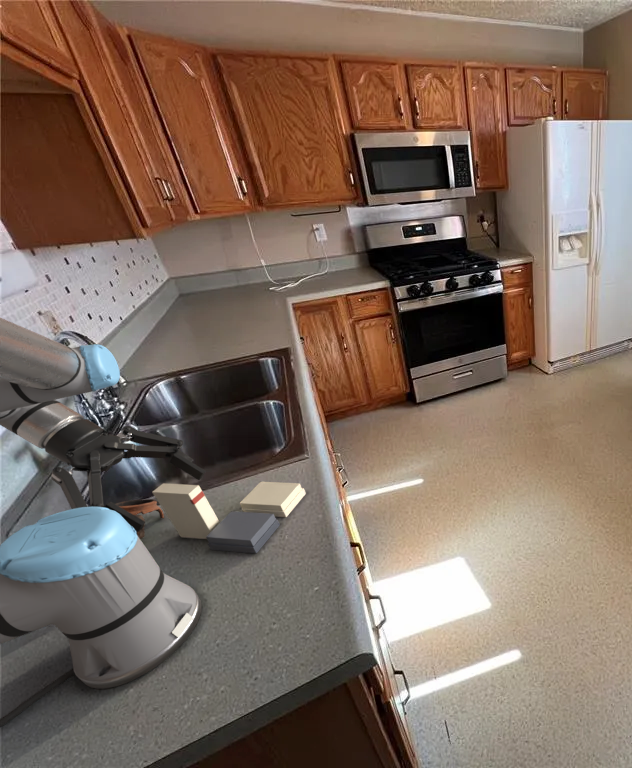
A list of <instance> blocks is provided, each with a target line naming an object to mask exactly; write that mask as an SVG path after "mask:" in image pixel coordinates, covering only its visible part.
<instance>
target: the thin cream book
mask: <svg viewBox="0 0 632 768" xmlns="http://www.w3.org/2000/svg"><path fill="white" fill-rule="evenodd" d="M152 495H153V496H154V497H155V500H156V501H157V503H158V504H159V505H160V508H161V509H162V511H163V512H164V514H165V515H166V516H167V518H168V519H169V521H170V522H171V524H172V525H173V527H174V529H175V530H176V532H177V533H178V535H179V536H180V538H185V539H186V538H187V539H201V540H207V538H206V536H207V535H208V534H209V533H210V532H211V531H212V530H213V529H214V528H215V527H216V526H217V525H218V524H219V523H220V522H221V521H220V520H219V519H218V518H219V517H217V514H216V513H215V511H214V509H213V507H212V506H211V504H210V503H209V501H208V499H207V497H206V495H205V493H204V491H203V490H202V488H201V487H200V485H199V484H182V483H164V482H163V483H162V484H160V485H159V486H158V487H156V488H155V489H154V490H152Z"/></svg>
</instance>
